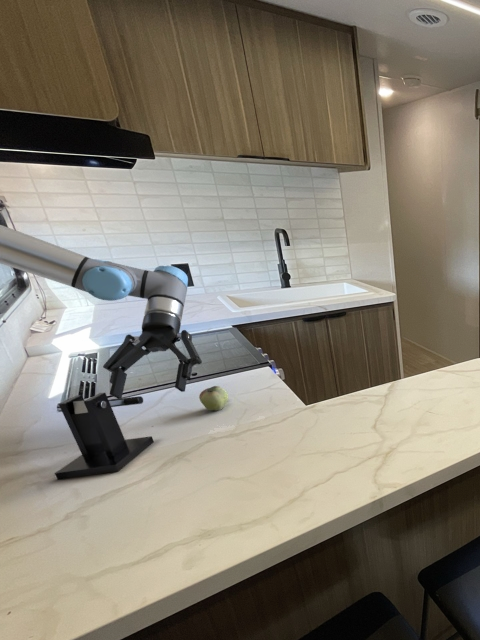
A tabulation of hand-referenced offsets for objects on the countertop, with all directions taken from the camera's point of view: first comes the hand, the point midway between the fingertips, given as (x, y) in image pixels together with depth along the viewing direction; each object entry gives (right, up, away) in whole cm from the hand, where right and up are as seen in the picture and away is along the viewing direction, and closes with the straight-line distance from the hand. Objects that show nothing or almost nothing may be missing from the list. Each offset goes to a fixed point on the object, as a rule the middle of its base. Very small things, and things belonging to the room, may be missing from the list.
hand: (148, 392), depth 96 cm
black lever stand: (+4, -13, -14) cm, 20 cm away
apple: (+10, -5, +9) cm, 15 cm away
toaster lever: (+3, -3, -13) cm, 14 cm away
